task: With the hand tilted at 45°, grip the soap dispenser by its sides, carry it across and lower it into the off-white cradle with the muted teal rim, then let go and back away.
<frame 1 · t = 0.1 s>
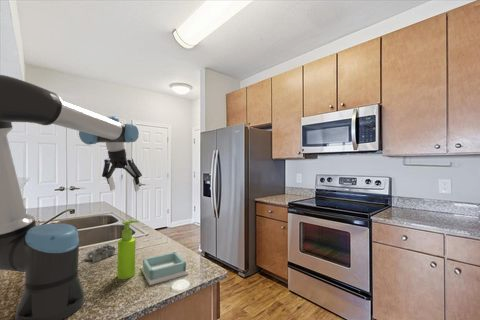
hand: (125, 189, 115), 28 cm above the worktop, tool tilted 20°, fingers open, 13 cm apart
soap dispenser: (127, 275, 85), on the worktop
cradle: (164, 271, 88), on the worktop
egg carton: (101, 257, 101), on the worktop
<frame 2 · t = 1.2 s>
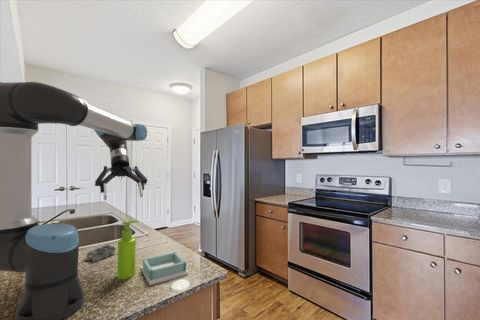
hand: (124, 196, 95), 28 cm above the worktop, tool tilted 45°, fingers open, 13 cm apart
nothing on the worktop moved.
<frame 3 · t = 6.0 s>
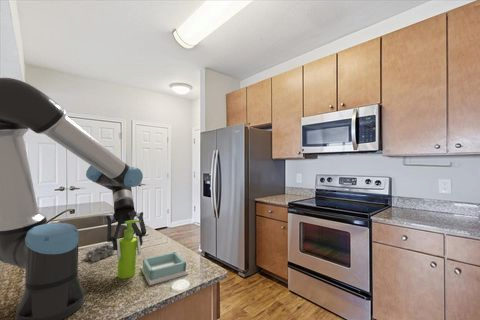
hand: (129, 255, 82), 8 cm above the worktop, tool tilted 45°, fingers closed on soap dispenser, 6 cm apart
soap dispenser: (127, 274, 85), on the worktop, touching gripper
everything else where it was.
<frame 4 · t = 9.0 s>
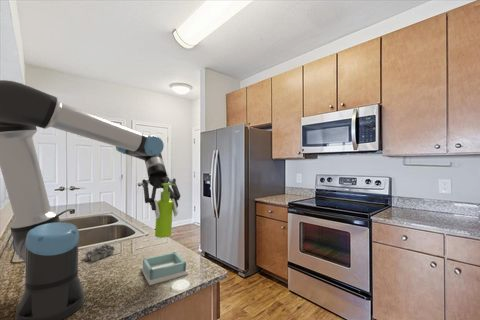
hand: (167, 215, 85), 22 cm above the worktop, tool tilted 45°, fingers closed on soap dispenser, 6 cm apart
soap dispenser: (164, 235, 88), point 14 cm above the worktop, touching gripper
everything else where it was.
when the fingers open (11 cm above the worktop, at t = 12.0 s): soap dispenser drops 1 cm, resting on cradle.
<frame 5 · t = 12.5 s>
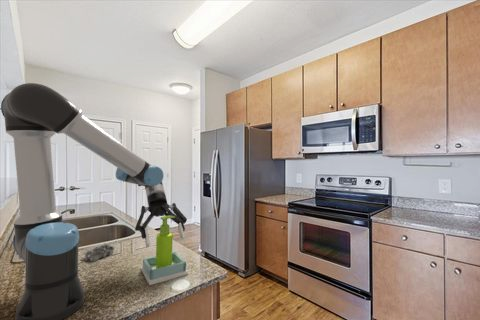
hand: (166, 242, 86), 12 cm above the worktop, tool tilted 45°, fingers open, 12 cm apart
soap dispenser: (165, 268, 88), point 1 cm above the worktop, touching cradle
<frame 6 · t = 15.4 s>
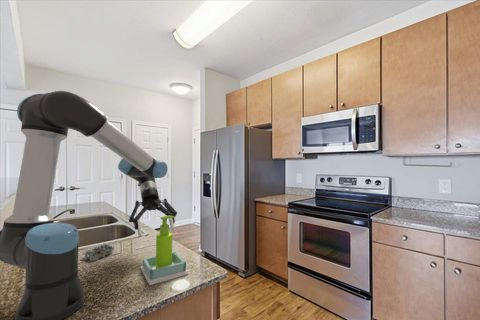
hand: (157, 232, 97), 12 cm above the worktop, tool tilted 45°, fingers open, 13 cm apart
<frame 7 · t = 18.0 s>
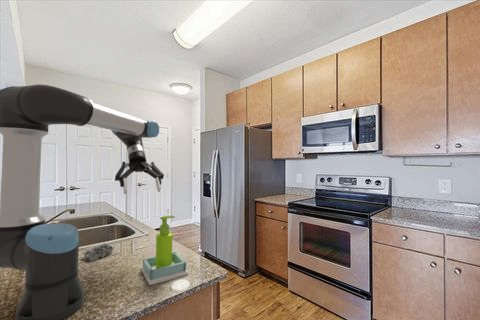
hand: (143, 191, 97), 30 cm above the worktop, tool tilted 45°, fingers open, 13 cm apart
at the end: soap dispenser 0.4 cm off-centre on the cradle, point 1.0 cm above the cradle's base; soap dispenser tilted 0°; the gripper is holding nothing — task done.
